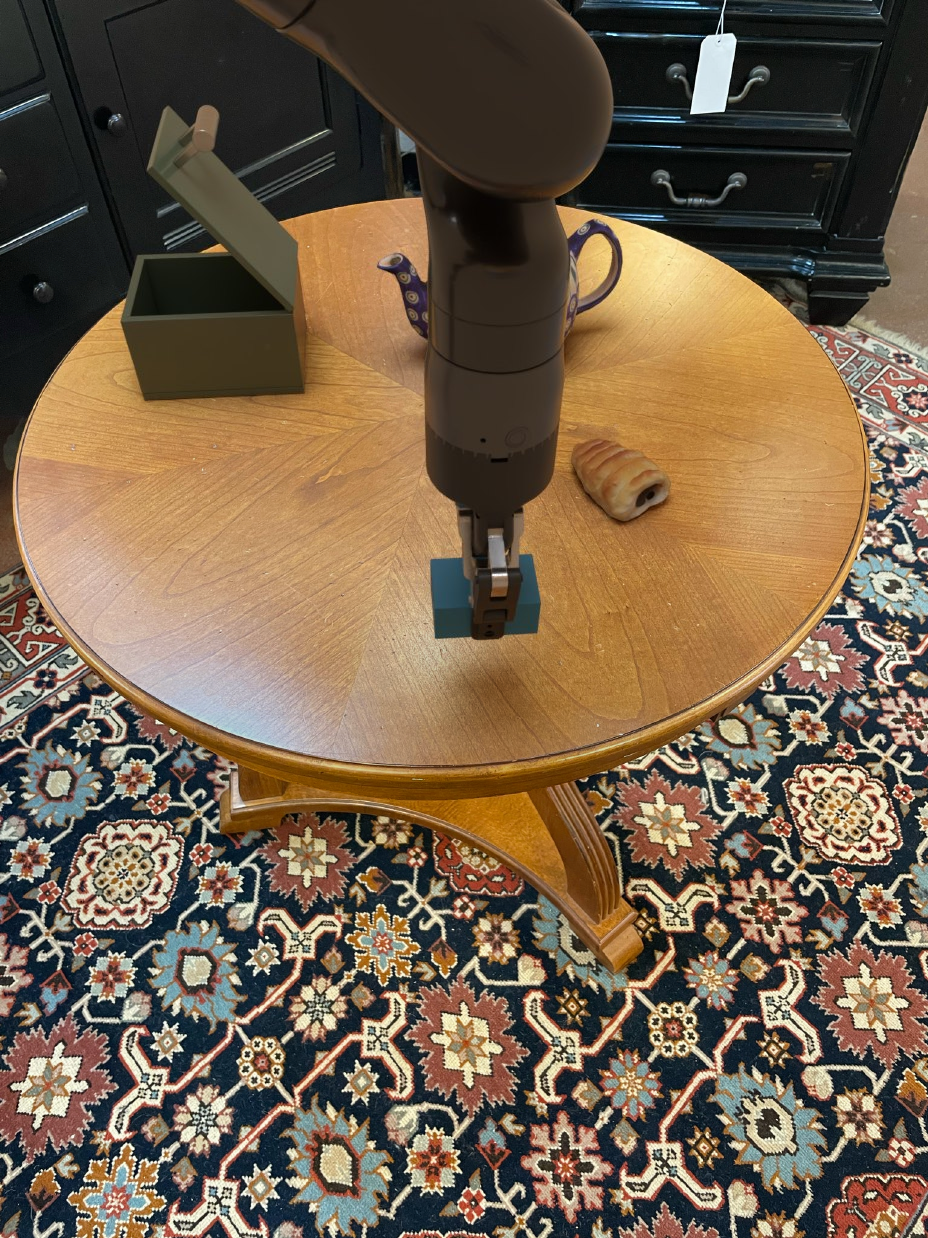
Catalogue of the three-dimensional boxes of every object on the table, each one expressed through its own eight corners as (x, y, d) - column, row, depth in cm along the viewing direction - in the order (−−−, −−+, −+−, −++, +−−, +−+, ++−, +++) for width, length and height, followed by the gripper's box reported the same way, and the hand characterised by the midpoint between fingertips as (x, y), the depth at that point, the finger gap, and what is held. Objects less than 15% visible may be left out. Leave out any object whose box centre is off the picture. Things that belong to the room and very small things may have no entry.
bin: (144, 400, 93) (119, 321, 87) (158, 332, 101) (137, 254, 94) (304, 393, 94) (292, 314, 88) (307, 326, 102) (296, 248, 95)
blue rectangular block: (434, 639, 64) (434, 608, 62) (430, 589, 67) (430, 558, 65) (537, 633, 65) (541, 603, 62) (529, 584, 68) (532, 553, 65)
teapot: (592, 292, 106) (608, 157, 95) (637, 370, 97) (662, 231, 86) (370, 319, 103) (359, 182, 91) (396, 403, 93) (387, 263, 82)
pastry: (550, 471, 87) (554, 438, 84) (605, 443, 90) (611, 410, 87) (621, 529, 82) (627, 496, 79) (676, 498, 85) (685, 465, 82)
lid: (145, 171, 77) (188, 132, 75) (163, 109, 84) (201, 73, 82) (289, 312, 87) (329, 281, 85) (293, 247, 95) (330, 217, 93)
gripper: (417, 333, 57) (423, 536, 70) (432, 497, 48) (435, 695, 61) (542, 328, 57) (524, 531, 70) (581, 490, 48) (552, 688, 61)
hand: (483, 606), depth 66 cm, fingers closed on blue rectangular block, 4 cm apart
